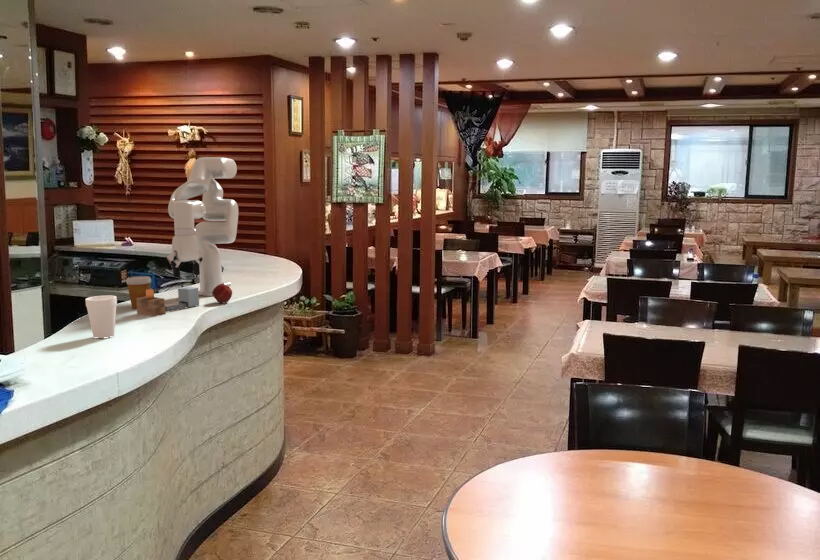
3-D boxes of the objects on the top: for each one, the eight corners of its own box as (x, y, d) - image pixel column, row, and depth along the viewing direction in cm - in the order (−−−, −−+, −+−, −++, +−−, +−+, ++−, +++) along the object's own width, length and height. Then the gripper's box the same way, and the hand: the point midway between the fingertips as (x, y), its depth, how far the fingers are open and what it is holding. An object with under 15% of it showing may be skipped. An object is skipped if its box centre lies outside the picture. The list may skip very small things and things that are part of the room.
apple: (227, 304, 298) (226, 285, 296) (209, 304, 299) (208, 284, 298) (235, 301, 305) (234, 282, 304) (217, 301, 306) (216, 282, 305)
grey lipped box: (188, 303, 299) (187, 286, 298) (199, 304, 296) (198, 287, 295) (178, 305, 295) (177, 288, 294) (189, 306, 291) (188, 289, 290)
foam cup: (100, 341, 236) (97, 301, 235) (82, 338, 241) (79, 299, 239) (125, 335, 244) (122, 296, 242) (107, 332, 249) (104, 294, 247)
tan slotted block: (148, 311, 285) (147, 296, 284) (165, 314, 280) (164, 298, 279) (137, 313, 281) (136, 298, 280) (154, 316, 276) (153, 300, 275)
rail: (191, 304, 299) (191, 299, 299) (198, 305, 297) (198, 300, 296) (160, 310, 286) (160, 305, 286) (167, 311, 284) (167, 306, 284)
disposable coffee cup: (157, 305, 298) (155, 275, 296) (146, 309, 289) (144, 279, 287) (134, 305, 299) (132, 275, 297) (123, 309, 290) (121, 279, 288)
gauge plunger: (151, 298, 282) (150, 288, 281) (155, 298, 280) (155, 289, 279) (144, 299, 279) (144, 290, 279) (149, 299, 278) (148, 290, 277)
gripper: (195, 231, 300) (197, 273, 302) (160, 233, 286) (162, 277, 288) (208, 231, 296) (210, 274, 298) (173, 234, 281) (175, 278, 284)
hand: (186, 275), depth 293 cm, fingers open, 9 cm apart
